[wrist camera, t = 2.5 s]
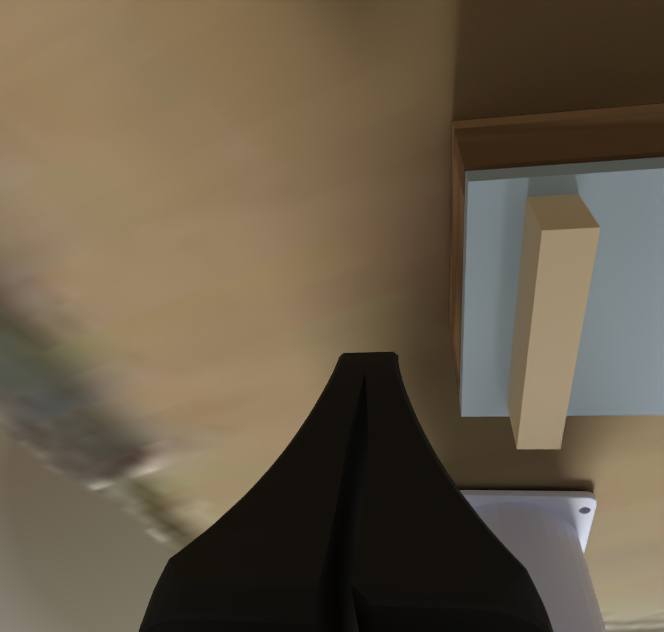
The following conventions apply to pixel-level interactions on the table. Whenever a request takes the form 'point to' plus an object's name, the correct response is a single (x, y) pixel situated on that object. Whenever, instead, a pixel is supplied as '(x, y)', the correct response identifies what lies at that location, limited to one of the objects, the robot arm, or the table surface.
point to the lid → (563, 295)
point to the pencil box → (540, 160)
